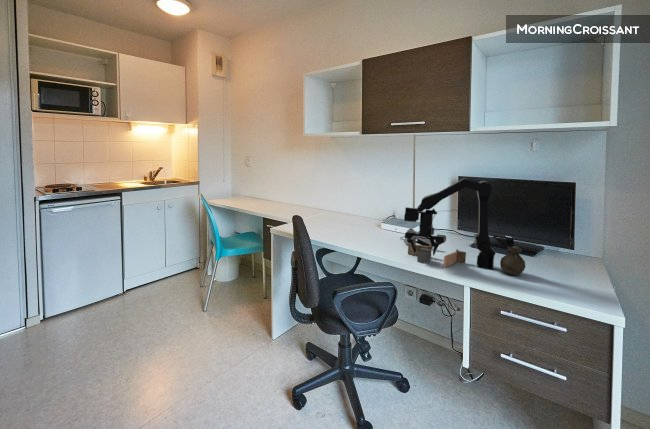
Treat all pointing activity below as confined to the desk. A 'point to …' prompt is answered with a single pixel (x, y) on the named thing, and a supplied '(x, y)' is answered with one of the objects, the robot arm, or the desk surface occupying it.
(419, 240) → the toy gun
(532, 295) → the desk surface
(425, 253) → the block
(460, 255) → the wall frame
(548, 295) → the desk surface
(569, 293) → the desk surface
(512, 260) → the drawstring pouch
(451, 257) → the door
